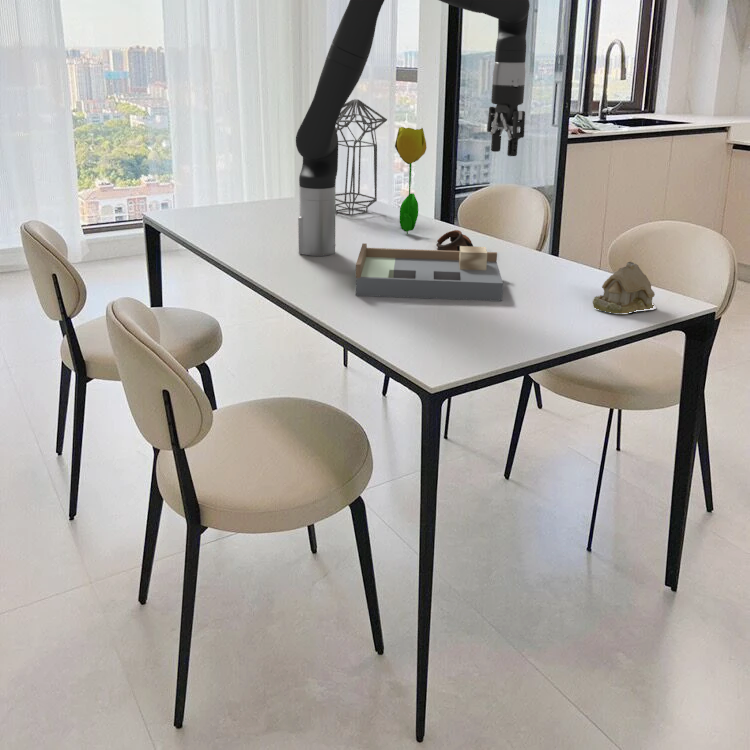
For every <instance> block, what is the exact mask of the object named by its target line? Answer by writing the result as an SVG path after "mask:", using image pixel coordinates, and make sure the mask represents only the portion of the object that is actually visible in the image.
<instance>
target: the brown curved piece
mask: <svg viewBox="0 0 750 750" xmlns="http://www.w3.org/2000/svg"><path fill="white" fill-rule="evenodd" d="M448 240H449V241H450V242H449V243H446V244H443V243H444V242H445V241H448ZM436 242H437V243H436V244H435V246H436V247H437V248H436V250H446V251H460V246H472V247H474V245H473V243H472V240H471V239H470V237H469V236H467V235H466V234H463V232H462V231H461V230H459V229H458V230H457V229H455V230H451V231H448V232H446V233H444V234H443V235H441V236H440V237H439V238H438V239H437V241H436Z"/></svg>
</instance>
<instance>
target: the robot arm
mask: <svg viewBox="0 0 750 750" xmlns="http://www.w3.org/2000/svg"><path fill="white" fill-rule="evenodd" d="M348 1H349V2H348V4H347V6H346V9H345V11H344V13H343V16H342V18H341V20H340V22H339V25H338V27H337V30H336V31H335V34H334V36H333V39H332V41H331V44H330V47H329V49H328V53H327V55H326V57H325V62H324V63H323V67H322V70H321V72H320V73H321V74H320V75H319V80H318V83H317V86H316V89H315V93H314V95H313V98H312V100H311V103H310V105H309V107H308V110H307V111H306V114H305V115H304V116H305V117H304V118H303V120H302V121H301V123H300V125H299V128H298V130H297V132H296V136H295V146H296V150H297V152H298V154H299V155H300V156H301V157H302V165H301V170H300V173H299V179H298V182H299V183H298V185H299V186H298V187H299V190H298V192H299V197H298V198H299V217H298V218H297V219H298V221H297V223H298V224H297V225H298V229H297V230H298V231H297V232H298V254H299V255H305V256H312V257H323V256H324V257H325V256H331V255H333V254H334V255H335V253H336V212H335V204H336V200H335V198H336V196H335V195H336V194H337V193H336V184H337V183H336V182H337V181H336V180H337V176H338V169H339V167H338V166H339V145H338V144H339V142H338V141H339V136H338V131H337V132H336V130H335V127H337V124H336V123H337V120H338V117H339V114H340V112H341V111H342V110H343V109H344V108H343V106H344V104H346V103H347V102H348V99H349V97H350V96H351V94H352V93H353V91H354V89H355V88H356V86H357V84H358V82H359V81H360V79H361V76H362V74H363V72H364V69H365V67H366V66H367V65H366V64H367V62H368V60H369V56H370V53H371V50H372V46H373V42H374V37H375V34H376V33H375V31H376V28H377V21H378V18H379V15H380V12H381V9H382V6H383V5H384V2H385V0H348ZM438 1H440V2H441V3H445V4H447V5H450V6H453V7H456V8H459V9H462V10H466V11H468V12H469V11H470V12H472V13H477V14H484V15H486V16H490V17H492V18H495V19H498V20H497V21H498V23H497V39H496V44H495V53H494V54H495V56H494V67H493V70H492V71H493V72H492V85H491V99H490V100H491V101H490V102H491V104H493V105H496V106H489V109H488V119H487V120H488V121H487V129H486V130H487V132H488V133H490V136H491V143H490V145H491V147H490V151H491V152H494V153H495V152H501V147H502V144H501V143H502V134H503V131H504V132H505V133H507V137H508V140H507V141H508V142H507V153H506V155H507V156H508V157H516V156H517V154H518V145H519V144H518V143H519V140H520V139H521V138H524V137H525V126H526V125H525V124H526V123H525V122H526V121H525V120H526V111H524V110H519V109H518V107H519V106H520V105H521V106H522V105H523V104H524V98H525V96H524V95H525V86H526V85H525V84H526V83H525V82H526V55H527V36H526V35H527V30H528V19H529V11H530V6H531V5H530V0H438Z"/></svg>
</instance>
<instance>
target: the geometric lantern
mask: <svg viewBox="0 0 750 750" xmlns="http://www.w3.org/2000/svg"><path fill="white" fill-rule="evenodd" d="M371 112H372V113H373V114H375V115H377V116H378V117H380V118H376V117H375V116H374V115H373V114H372V113H371ZM363 113H364V114H365V115H363ZM357 116H359V117H361V120H360V119H359V120H357ZM343 118H345V119H343ZM349 118H350V119H349ZM354 119H355V120H354ZM366 119H367V120H369V122H367V120H366ZM387 121H388V118H387V117H384V116H383V115H381V114H380V113H379V112H377V111H376V110H374V109H373V108H372V107H370V106H368V105H367V104H366V103H364V102H363V101H361V100H360V99H359V98H358V99H357V98H356V99H355V98H353V99H351V100H350V101H349V100H348V101H346V102H345V104H344V106H343V108H342V110H341V112H340V114H339V117H338V120H337V123H336V126H335V130H336V132H337V133H338V131H339V132H340V134H341V136H342V139H343V140H338V146H342V147H346V148H347V155H346V170H345V184H344V185H345V187H344V188H345V189H344V192H342V193H336V195H335V202H340V203H335V213H336V214H338V213H339V214H342V215H345V216H355V215H363V214H367V213H368V211H369V209H368V208H369V207H370V206H372V205H373V204H374V203H376V202H377V201H378V197H377V196H378V195H377V194H378V193H377V192H378V191H377V189H378V188H377V187H378V186H377V185H378V184H377V183H378V182H377V181H378V179H377V178H378V176H377V175H378V144H377V135H376V134H377V133H376V130H377V129H378V128H380V127H381V126H382V125H383V124H385V122H387ZM340 123H344V124H340ZM351 123H355V124H356V125H357V126H358V127H359V128H360V129H361V131H362V133H361V135H360V136H359V137H358V139H357V138H356V136H354V134H353V132H352V130H351V129H350V127H349V125H350V124H351ZM360 123H362V124H363V126H362V125H361V124H360ZM377 123H378V124H377ZM373 125H374V127H373ZM366 126H367V127H366ZM344 128H347V129H348V130H349V132H350V134H351V136H352V137H353V138H354V139H350V140H349V139H346V137H345V134H344V133H343V131H342V130H343V129H344ZM366 133H370V134H371V140H372V142H368V141H362V139H363V137H364V136H365V135H366ZM348 142H353V145H349V143H348ZM341 143H345V144H341ZM357 143H359V144H358V145H357ZM362 143H363V144H368V145H362ZM364 147H366V148H367V147H369V148H370V147H373V172H374V173H373V175H374V179H373V180H374V196H370V195H367V194H363V193H360V192H361V191H360V190H361V187H360V186H361V159H362V157H361V156H362V155H361V152H362V151H361V150H362V148H364ZM350 148H352V163H351V176H350V185H349V192H348V179H349V178H348V177H349V161H350ZM356 148H358V174H357V175H358V177H357V178H358V180H357V181H358V182H357V183H358V184H357V192H356V191H355V189H356V187H355V186H356V184H355V182H356V177H355V175H356V174H355V173H356V167H355V164H356ZM347 195H348V196H349V201H347ZM351 195H352V196H351ZM336 196H344V200H342V199H339V198H336ZM358 196H361V197H365V198H369V200H360V201H359V200H357V198H358ZM351 197H352V198H351ZM370 199H371V200H370ZM356 200H357V201H356ZM363 203H368V204H363ZM342 205H345V206H342ZM351 205H352V206H351ZM355 205H359V206H360V207H354V206H355ZM337 207H340V208H341V209H337ZM364 209H365V210H364ZM345 210H348V213H347V212H341V211H345ZM354 210H356V211H361V212H357V213H354ZM351 211H352V213H351Z"/></svg>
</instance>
